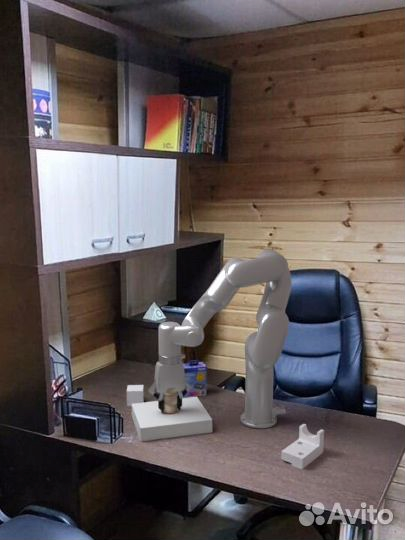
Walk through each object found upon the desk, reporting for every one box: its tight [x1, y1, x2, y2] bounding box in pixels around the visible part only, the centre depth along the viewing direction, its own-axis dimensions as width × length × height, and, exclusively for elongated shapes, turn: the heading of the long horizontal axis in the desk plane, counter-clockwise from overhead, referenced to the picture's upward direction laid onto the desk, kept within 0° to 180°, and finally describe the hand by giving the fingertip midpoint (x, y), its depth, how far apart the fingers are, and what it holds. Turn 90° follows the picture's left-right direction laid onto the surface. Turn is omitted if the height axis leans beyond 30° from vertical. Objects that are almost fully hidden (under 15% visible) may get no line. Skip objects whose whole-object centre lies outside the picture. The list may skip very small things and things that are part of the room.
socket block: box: [131, 396, 213, 442], centre depth 188 cm, size 24×20×4 cm
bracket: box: [280, 423, 325, 470], centre depth 165 cm, size 13×7×8 cm, turn 140°
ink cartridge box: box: [183, 359, 208, 398], centre depth 212 cm, size 10×6×14 cm, turn 107°
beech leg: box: [162, 388, 178, 415], centre depth 187 cm, size 5×5×13 cm
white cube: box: [126, 384, 145, 407], centre depth 205 cm, size 6×6×6 cm
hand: (170, 409), depth 187 cm, fingers open, 5 cm apart
